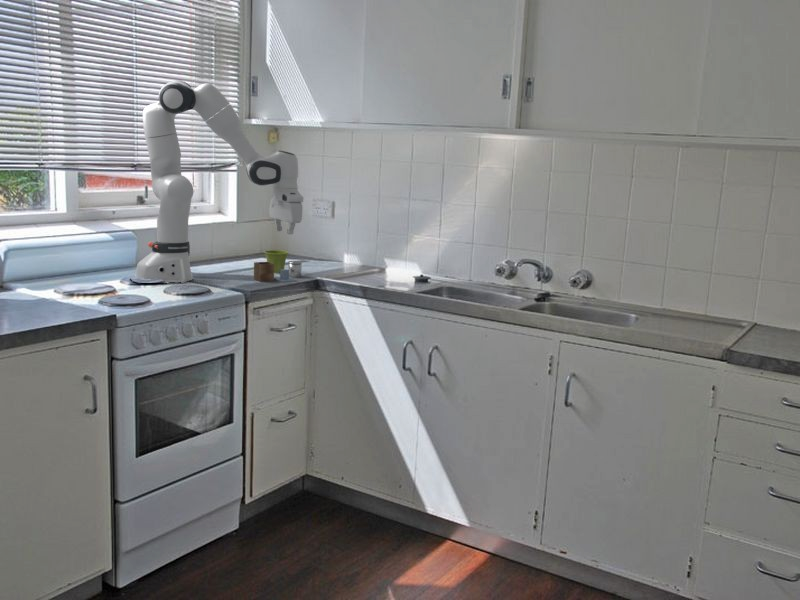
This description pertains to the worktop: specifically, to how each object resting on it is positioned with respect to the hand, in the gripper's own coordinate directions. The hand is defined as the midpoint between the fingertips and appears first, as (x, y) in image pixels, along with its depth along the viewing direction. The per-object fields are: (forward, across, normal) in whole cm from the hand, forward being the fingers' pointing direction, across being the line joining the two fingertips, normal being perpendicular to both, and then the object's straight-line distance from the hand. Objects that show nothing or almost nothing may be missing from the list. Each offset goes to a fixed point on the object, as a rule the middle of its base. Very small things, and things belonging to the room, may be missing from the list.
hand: (284, 232), depth 316 cm
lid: (+19, 0, 0) cm, 19 cm away
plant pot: (+19, -18, +6) cm, 27 cm away
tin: (+19, -6, +8) cm, 21 cm away
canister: (+19, -3, -7) cm, 20 cm away
